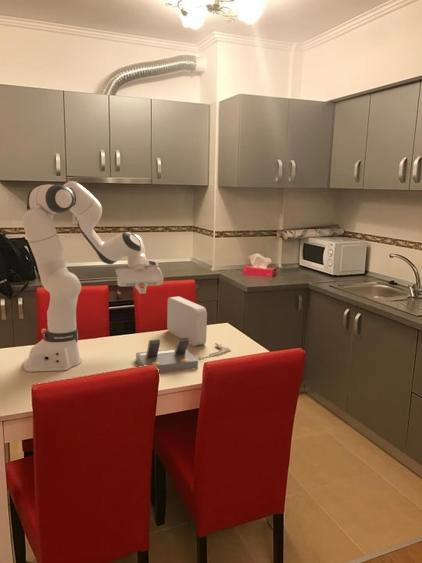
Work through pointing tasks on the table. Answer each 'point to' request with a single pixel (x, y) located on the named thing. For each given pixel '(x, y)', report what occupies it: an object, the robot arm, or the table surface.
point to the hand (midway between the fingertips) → (142, 292)
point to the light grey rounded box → (187, 320)
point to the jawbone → (221, 352)
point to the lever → (181, 346)
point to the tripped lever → (153, 348)
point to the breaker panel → (168, 360)
